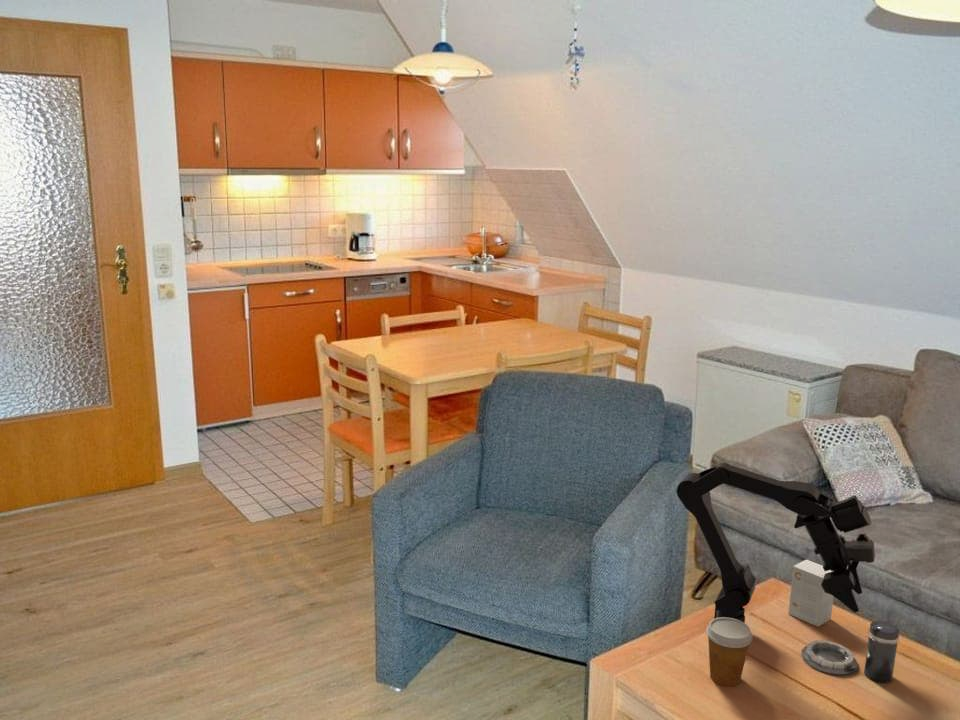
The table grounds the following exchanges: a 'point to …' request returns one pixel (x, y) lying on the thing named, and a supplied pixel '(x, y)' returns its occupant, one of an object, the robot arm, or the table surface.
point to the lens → (881, 651)
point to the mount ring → (829, 658)
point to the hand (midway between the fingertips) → (858, 602)
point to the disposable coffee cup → (727, 649)
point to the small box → (810, 594)
